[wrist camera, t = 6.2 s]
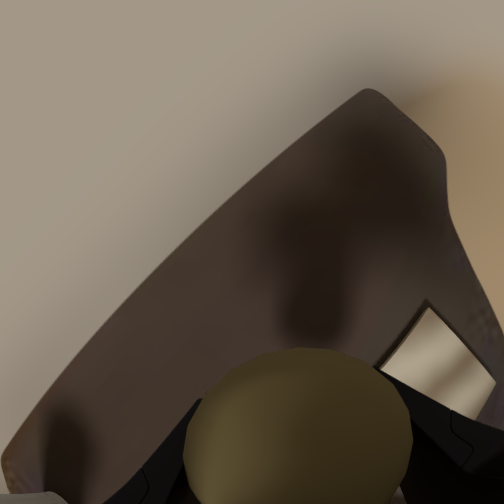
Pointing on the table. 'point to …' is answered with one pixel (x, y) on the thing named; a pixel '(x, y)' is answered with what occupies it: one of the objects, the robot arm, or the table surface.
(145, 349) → the table surface
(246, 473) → the cork
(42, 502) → the cup
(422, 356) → the board
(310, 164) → the table surface
